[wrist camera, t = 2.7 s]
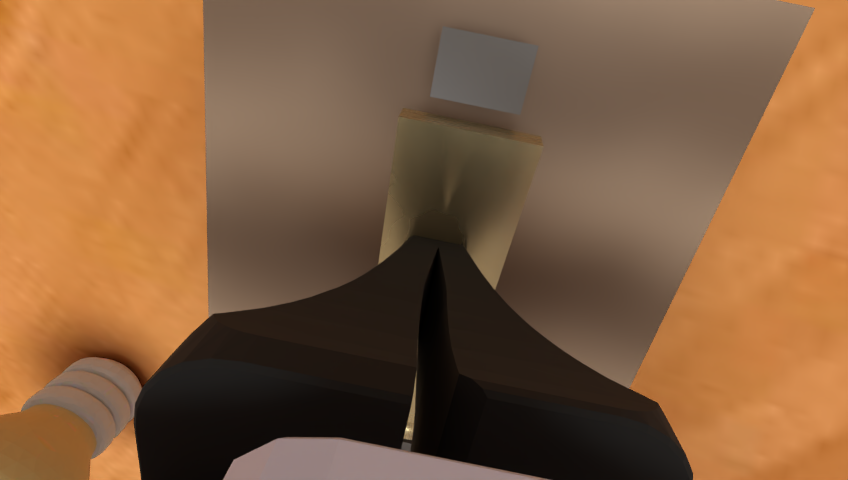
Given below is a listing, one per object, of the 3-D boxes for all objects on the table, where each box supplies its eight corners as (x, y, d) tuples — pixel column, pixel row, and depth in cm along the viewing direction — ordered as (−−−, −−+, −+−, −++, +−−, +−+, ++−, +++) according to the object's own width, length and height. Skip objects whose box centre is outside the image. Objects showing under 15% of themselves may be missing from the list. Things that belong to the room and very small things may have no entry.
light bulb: (116, 306, 20) (-176, 525, 11) (204, 407, 22) (19, 663, 13) (23, 352, 22) (-300, 577, 13) (112, 443, 24) (-109, 692, 15)
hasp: (443, 426, 16) (441, 453, 15) (360, 409, 16) (353, 434, 15) (540, 132, 10) (544, 149, 9) (404, 104, 10) (397, 119, 9)
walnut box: (546, 438, 21) (574, 572, 16) (255, 378, 21) (184, 490, 16) (721, 18, 14) (884, 0, 8) (272, -74, 14) (149, -149, 8)
